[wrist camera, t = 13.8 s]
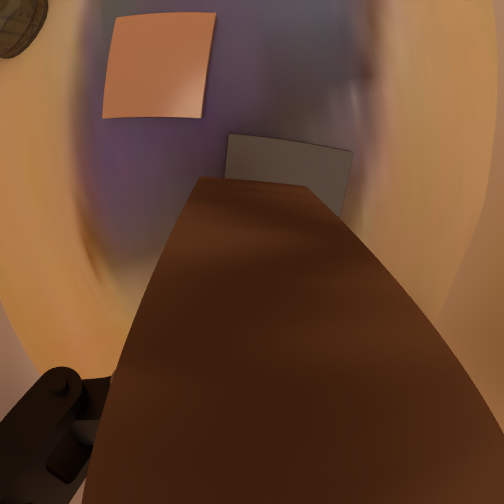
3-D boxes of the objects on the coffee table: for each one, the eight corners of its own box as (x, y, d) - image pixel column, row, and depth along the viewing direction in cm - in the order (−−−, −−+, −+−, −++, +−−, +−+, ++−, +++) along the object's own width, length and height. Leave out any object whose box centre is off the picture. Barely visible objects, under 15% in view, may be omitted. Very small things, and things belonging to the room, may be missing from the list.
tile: (202, 117, 23) (216, 21, 19) (200, 118, 21) (216, 13, 17) (112, 117, 22) (124, 24, 17) (102, 118, 20) (116, 17, 15)
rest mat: (350, 151, 25) (353, 152, 25) (322, 272, 32) (323, 275, 31) (228, 133, 24) (229, 133, 23) (217, 266, 30) (216, 269, 30)
